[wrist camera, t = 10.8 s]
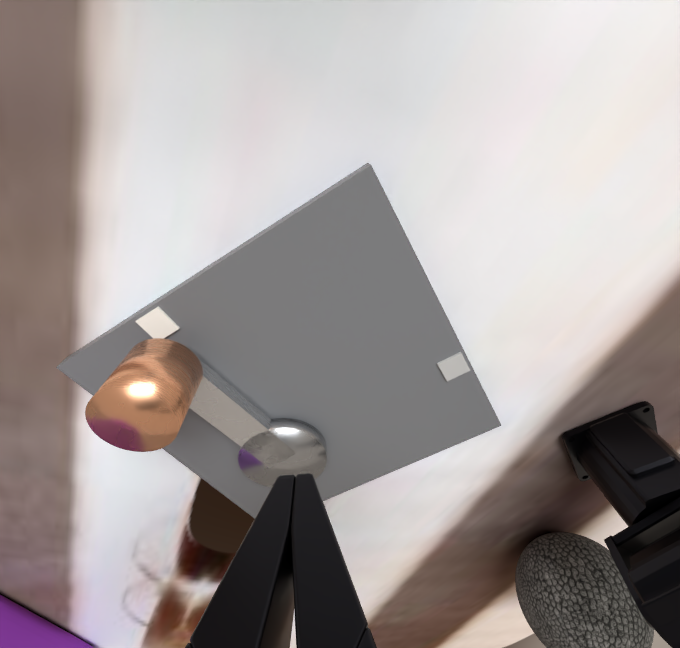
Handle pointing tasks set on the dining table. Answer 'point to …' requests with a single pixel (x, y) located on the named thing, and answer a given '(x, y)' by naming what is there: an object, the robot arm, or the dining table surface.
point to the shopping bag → (31, 630)
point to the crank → (207, 401)
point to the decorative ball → (577, 595)
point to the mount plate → (315, 344)
